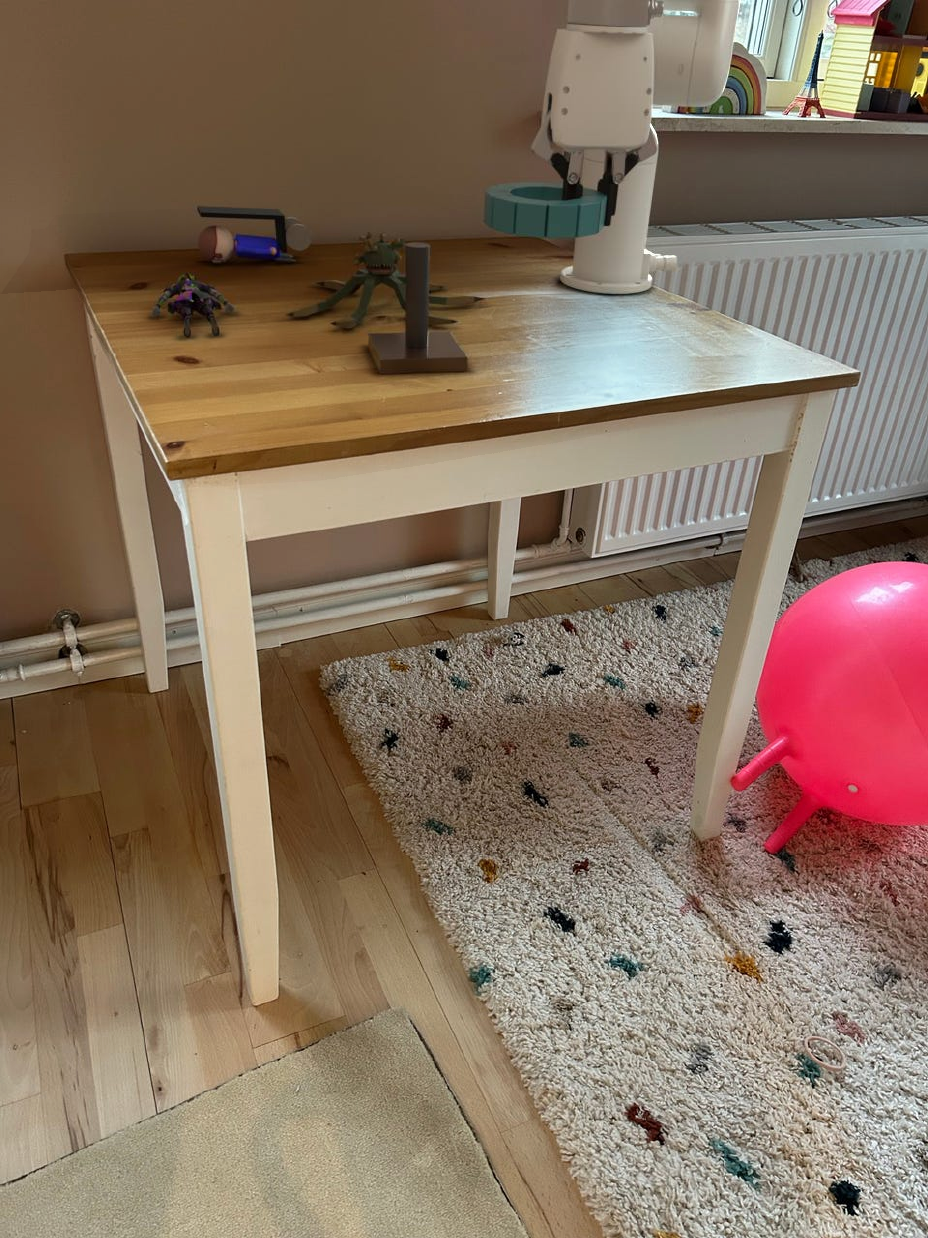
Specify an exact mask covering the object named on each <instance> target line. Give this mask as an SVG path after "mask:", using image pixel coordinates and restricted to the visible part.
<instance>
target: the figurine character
mask: <svg viewBox="0 0 928 1238" xmlns="http://www.w3.org/2000/svg"><path fill="white" fill-rule="evenodd" d="M196 206H197V207H196V208H197V210H196V211H197V213H198V214H199V216H200V218H210V219H211V218H214V219H241V220H265V221H266V220H267V221H274V228H275V229H274V230H275V237H271V236H262V235H261V236H260V235H250V234H240V233H236V234H235V237H234V238H233V235H232V234H231V232H230V231H229V230H228V229H227V228H225V227H223V226H221V225H209V226H207V227H205V228H204V229H203V230H202V231H201V232H200V234H199V236H198V240H197V245H198V250H199V252H200V254H201V256H202V257H203V258H204V260H206V261H208V262H210V263H212V264H223V263H226V262H228V261H229V260H230V259H231V258H232V257H233V255H234V253H235V257H236V258H242V259H254V260H266V261H275V262H279V263H290V264H294V263H296V262H297V260H295V259H294V256H293V255H292V254H290V253H288V247H289V248H290V249H291V250H294V251H297V252H300V251H304V250H306V249H308V248H309V247H310V245H311V243H312V233H311V231H310V230H309V229H308V228H307V227H306V226H305V225H304V224H303V222H301V221H300V220H299V219H298V218H296V217H293V216H287V217H286V215H285V214H284V213H283V212H282V211H281V210H280V209H278V208H257V207H256V208H255V207H254V208H253V207H232V206H230V207H229V206H206V205H196Z"/></svg>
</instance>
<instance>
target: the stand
mask: <svg viewBox="0 0 928 1238" xmlns="http://www.w3.org/2000/svg"><path fill="white" fill-rule="evenodd" d="M405 244H406V249H405V275H406V291H405V310H404V311H405V314H404V319H405V320H404V321H405V323H404V332H379V333H368V335H367V336H368V337H367V338H368V341H367V344H368V349H369V351H370V353H371V355H372V358H373V360H374V362H375V365H376V367H377V369H378V371H379V374H380V375H392V374H394V375H395V374H396V375H397V374H423V373H424V374H426V373H451V372H453V373H455V372H468V358H469V357H468V356H467V354H466V353H465V352H464V350H463V349H462V347H461V346H460V344H459V343H458V342H457V340H456V339H455V337H454V335H452V333H451V332H450V331H429V324H428V317H429V313H430V311H429V309H430V303H429V294H430V291H429V283H430V267H431V266H430V263H431V261H430V259H431V258H430V257H431V254H430V253H431V245H430V244H429V243H426V242H417V241H415V242H408V243H405Z"/></svg>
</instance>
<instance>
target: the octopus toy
mask: <svg viewBox="0 0 928 1238" xmlns="http://www.w3.org/2000/svg"><path fill="white" fill-rule="evenodd" d="M378 235H379V236H378V237H379V241H376V242H374V239H373V238H372V236H373V231H367V235H366V236H364V235H360V236H359V237H358V240H359V241H360V242H363V243H364V244H366V245H365V247H364V251H363V255H361V254H360V253H357V252H356V253H355V255H353V257H352V258H353V265H354V266H357V267H360V265H361V264H362V263H364V267H365V268H364V269H357V271H356V273H355V274H352V275H351V277H350V278H349V279H348V280H347V281H345V282H344V281H342V280H341V281H340V280H337V279H330V280H324V281H318V282H315V285H319V286H320V287H324V288H327V289H333V290H336V291H335V292H334V293H333V294H332V295H330V296H329V297H328V298H326V300H324V301H321V302H317V303H312V304H310V305H307V306H304V307H301V308H298V309H296V310H294V311H291V312H289V313H286V314H285V316H288V317H291V318H294V317H295V318H301V317H308V316H310V315H312V314H316V313H319V312H324V311H328V310H331V309H332V308H334V307H335V306H336V305H337V304H339V302H341V301H342V300H344V298H345V297H347V296H348V295H353V294H354V293H356V292H358V291H359V290H360V289H361V287H362V286H363V288H362V292H361V297H360V300H359V306H358V308H357V309H356V310H355V311H354V312H353V313H351V315H349V316H347V317H344V318H341V319H338V320H334V321H332V322H330V323H329V324H330V325H332V326H335V327H339V328H344V329H348V330H349V329H352V328H354V327H357V326H358V325H359V324H360V323H361V322H362V321H363V320H364V319H365V317H366V316H367V314H368V312H369V308H370V304H371V300H372V296H373V292H374V291H375V289H376V287H377V286H379V285H381V284H382V285H384V286H388V287H389V288H390V289H392V290H394V292H395V295H396V297H397V299H398V302H399V305H400V307H401V308H402V309H403V310H404V311H405V291H406V274H402V273H401V272H400V270H399V269H397V268H398V265H400V263H401V261H402V259H403V256H401V252H400V251H397V249H403V250H406V244H407V243H406V240H405V239H406V238H400V237H396V238H395V239H394V240H393V241H387V242H386V234H385V233H383V232H380V233H379V234H378ZM443 288H445V285H441V284H436V283H431V282H429V292H430V291H438V290H441V289H443ZM484 300H487V297H486V298H485V297H480V296H474V295H473V296H472V295H463V296H462V295H461V296H448V297H447V296H441V295H433V294H431V293H429V305H430V304H431V305H432V304H433V305H440V306H441V305H442V306H455V305H456V306H457V305H469V304H472V303H476V302H479V301H484ZM456 323H459V321H458V320H456V319H453V318H451V317H447V316H443V315H440V314H435V313H431V312H429V317H428V325H432V326H442V325H443V326H444V325H451V324H452V325H453V324H456Z"/></svg>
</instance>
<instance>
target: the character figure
mask: <svg viewBox="0 0 928 1238" xmlns="http://www.w3.org/2000/svg"><path fill="white" fill-rule="evenodd" d="M211 284H212V283H209V285H208V284H205V283H204V282H200V281H199V280H198V279H197V277H196V276H195V275H194V274H191V273H190V272H189V273H188V272H185V273H183V274H182V275H180V276H179V277H178V278H177V281H176V282H175V283H173V284H172V285H171V286H168V285H165V287H166V288H165V289H164V290H163V294H162V295H160V296H159V298H158V300H157V302H156V304H155V305H154V307H153V308H152V310H151V316H153V318H155V319H157V316H158V315H159V318H162V313H161V308H162V306H163V304H165V302H167V301H168V300H170V299H172V298H173V297H175V296H177V297H175V300H173V301H172V300H170V301H169V302H167V305H166V306H167V309H166V311H167V312H168V313H169V314H171V315H175V314H178V316H179V317H182V321H183V323H184V324H183V329H182V333H183V336H184V337H185V338H187V339H188V338H190V337H191V334H192V331H191V324H192V316H194V312H197V314H198V315H200V316H202V317H203V318H205V319H206V321H207V322H209V324H210V326H211V327H210V328H211V333H212V336H214V337H218V336H219V335H220V327H219V325H218V323H217V321H216V318H215V312H217V313H218V312H220V311H222V310H223V307H222V305H221V304H223V305H224V310H225V314H228V311H229V312H230V314H231V315H233V314H235V312H236V309H235V307H234V305H233V304H231V302H229V301H228V300H227V299H226V298H225V297H224V295H222V294H221V293H219V292H218V291H217V290H216V288H215V287H214V286H212V285H211ZM220 302H221V303H220ZM214 311H215V312H214Z"/></svg>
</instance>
